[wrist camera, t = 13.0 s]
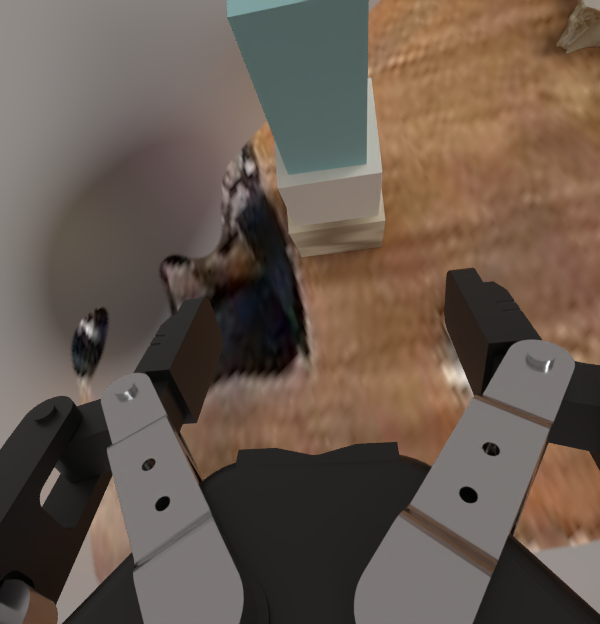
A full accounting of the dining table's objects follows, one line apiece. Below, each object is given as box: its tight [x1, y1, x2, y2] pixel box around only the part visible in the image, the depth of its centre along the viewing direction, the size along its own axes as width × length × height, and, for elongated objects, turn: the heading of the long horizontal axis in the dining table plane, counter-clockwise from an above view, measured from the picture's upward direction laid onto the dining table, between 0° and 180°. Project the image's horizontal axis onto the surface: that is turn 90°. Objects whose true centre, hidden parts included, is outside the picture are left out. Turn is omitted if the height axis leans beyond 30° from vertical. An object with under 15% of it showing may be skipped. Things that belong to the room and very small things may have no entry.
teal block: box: [227, 0, 369, 175], centre depth 17 cm, size 4×4×10 cm
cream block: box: [274, 78, 382, 227], centre depth 25 cm, size 6×6×6 cm
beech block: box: [287, 188, 385, 257], centre depth 31 cm, size 7×7×6 cm
